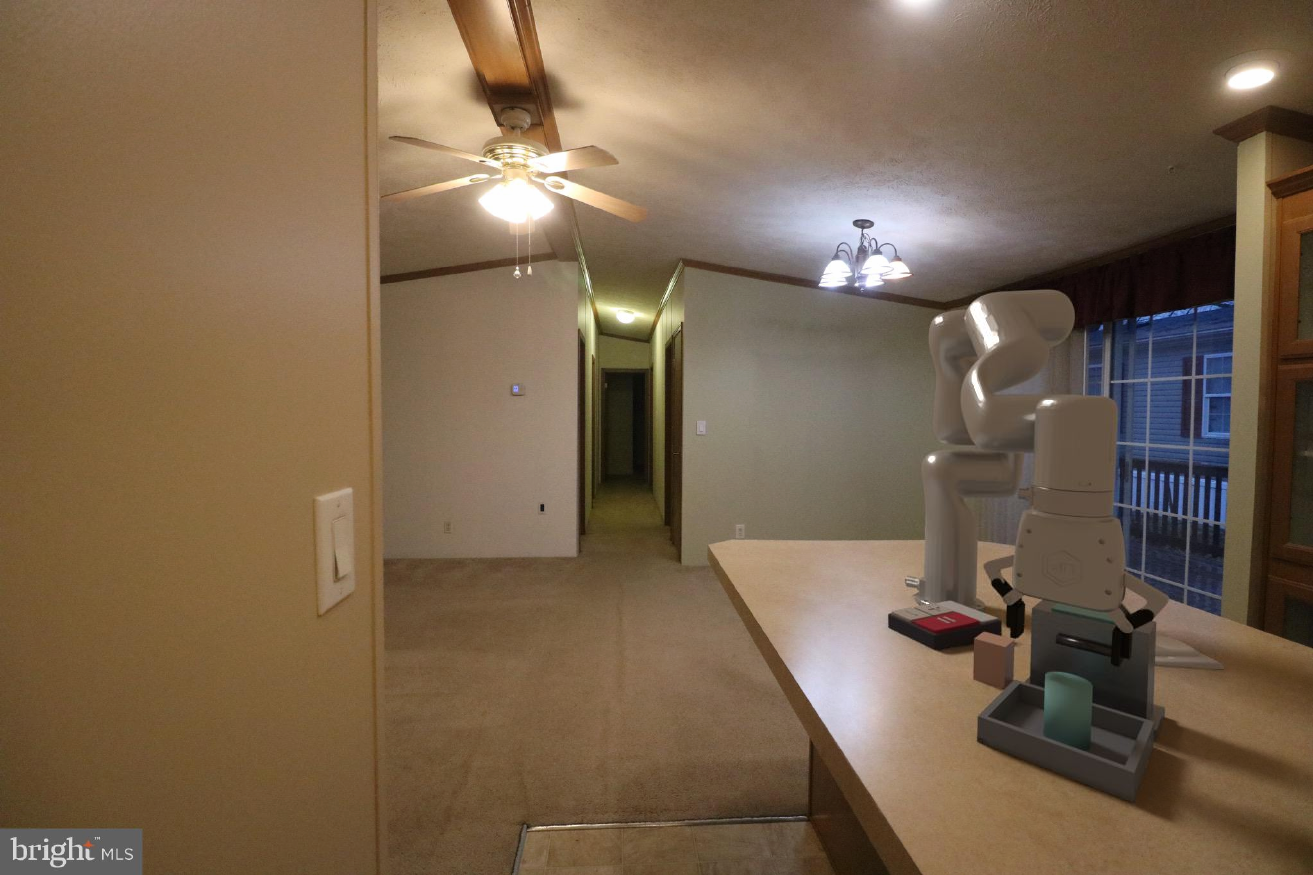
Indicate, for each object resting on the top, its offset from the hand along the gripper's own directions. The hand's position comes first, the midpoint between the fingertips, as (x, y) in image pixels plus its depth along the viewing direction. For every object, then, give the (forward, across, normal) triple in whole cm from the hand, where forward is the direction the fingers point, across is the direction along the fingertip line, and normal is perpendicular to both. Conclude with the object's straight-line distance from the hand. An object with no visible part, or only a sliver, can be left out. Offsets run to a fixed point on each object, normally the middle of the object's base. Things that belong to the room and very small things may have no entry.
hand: (1064, 648), depth 65 cm
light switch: (+13, +4, +42) cm, 44 cm away
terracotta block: (+12, -10, +11) cm, 19 cm away
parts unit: (+11, +1, +12) cm, 17 cm away
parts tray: (+11, +1, -1) cm, 11 cm away
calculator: (+13, -22, +24) cm, 35 cm away
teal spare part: (+10, +1, -1) cm, 10 cm away
